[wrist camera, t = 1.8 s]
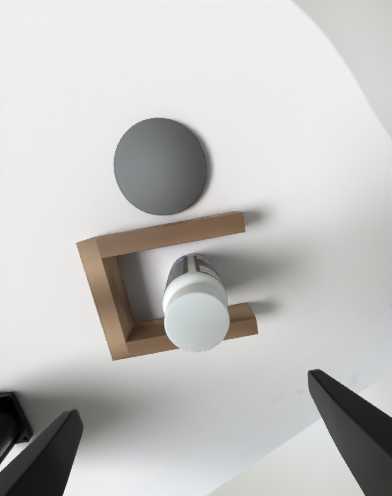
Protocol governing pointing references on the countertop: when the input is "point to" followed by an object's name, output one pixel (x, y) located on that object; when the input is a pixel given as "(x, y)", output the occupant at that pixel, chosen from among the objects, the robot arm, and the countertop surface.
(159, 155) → the coaster
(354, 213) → the countertop surface
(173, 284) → the pill bottle
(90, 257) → the nook
